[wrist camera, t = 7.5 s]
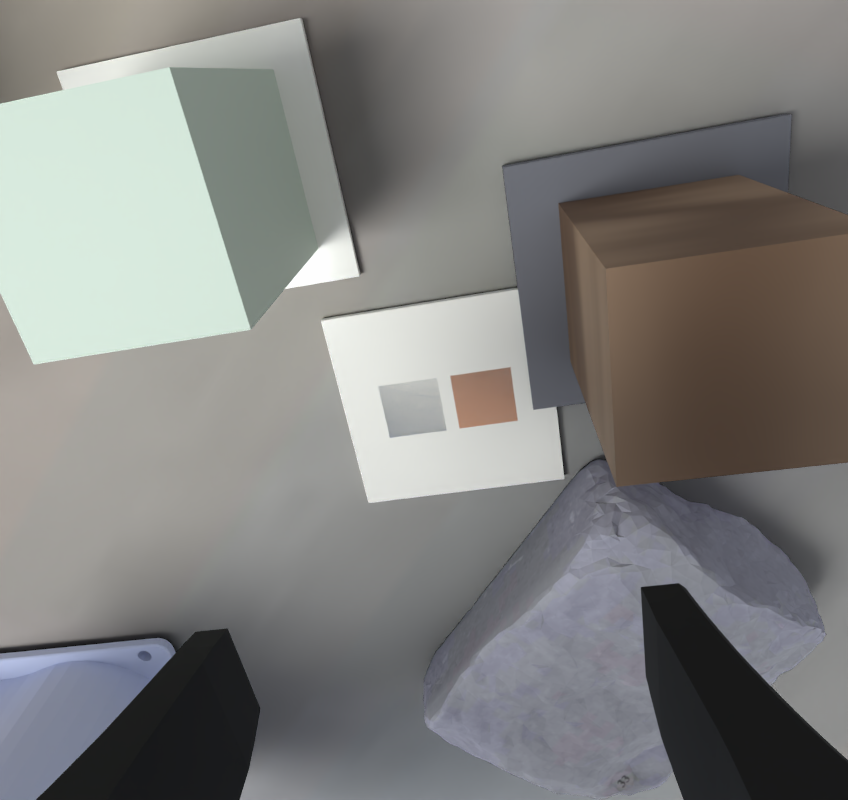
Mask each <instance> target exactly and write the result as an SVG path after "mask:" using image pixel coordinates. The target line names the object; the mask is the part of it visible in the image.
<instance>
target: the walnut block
mask: <svg viewBox="0 0 848 800" xmlns="http://www.w3.org/2000/svg"><path fill="white" fill-rule="evenodd" d="M558 206H559V219H560V232H561V245H562V258H563V271H564V284H565V297H566V309H567V322H568V335H569V348H570V361H571V364H572V367H573V370H574V373H575V375H576V378H577V381H578V383H579V386H580V389H581V392H582V394H583V397H584V400H585V402H586V405H587V408H588V411H589V413H590V416H591V419H592V422H593V424H594V427H595V430H596V432H597V435H598V438H599V441H600V443H601V446H602V449H603V451H604V454H605V457H606V460H607V462H608V465H609V468H610V470H611V473H612V476H613V479H614V481H615V484H616V487H621V486H630V485H639V484H649V483H658V482H668V481H677V480H687V479H696V478H705V477H715V476H724V475H734V474H743V473H753V472H762V471H771V470H781V469H790V468H800V467H809V466H819V465H828V464H837V463H847V462H848V215H847V214H844V213H841V212H838V211H836V210H833V209H830V208H828V207H825V206H822V205H819V204H817V203H814V202H811V201H809V200H806V199H803V198H800V197H798V196H795V195H792V194H790V193H787V192H784V191H781V190H779V189H776V188H773V187H771V186H768V185H765V184H763V183H760V182H757V181H754V180H752V179H749V178H746V177H744V176H741V175H734V176H728V177H722V178H715V179H709V180H703V181H696V182H690V183H683V184H677V185H671V186H664V187H658V188H652V189H645V190H639V191H633V192H626V193H620V194H614V195H607V196H601V197H595V198H588V199H582V200H576V201H569V202H563V203H558Z"/></svg>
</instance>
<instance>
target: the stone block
mask: <svg viewBox="0 0 848 800" xmlns="http://www.w3.org/2000/svg"><path fill="white" fill-rule="evenodd" d="M675 583H679V584H681V585H682V586H684V587H685V588H686V589H687V590H688V592H689V593H690V594H691V596H692V597H693V598H694V600H695V601H696V602H697V603H698V605H699V606H700V607H701V608H702V610H703V611H704V612H705V613H706V615H707V616H708V617H709V618H710V619H711V621H712V622H713V623H714V624H715V625H716V627H717V628H718V629H719V630H720V631H721V632H722V634H723V635H724V636H725V637H726V638H727V639H728V640H729V642H730V643H731V644H732V645H733V646H734V647H735V648H736V650H737V651H738V652H739V653H740V654H741V655H742V656H743V657H744V658H745V660H746V661H747V662H748V663H749V664H750V665H751V666H752V667H753V668H754V669H755V670H756V671H757V672H758V673H759V674H760V675H761V676H762V678H763V679H764V680H765V681H766V682H767V683H768V684H769V685H770V686H771V685H772V684H773V683H774V682H775V681H776V679H777V677H778V675H780V674H782V673H784V672H786V671H788V670H791V669H793V668H794V667H795V666H796V665H797V664H798V663H799V662H801V661H802V660H803V659H804V658H805V657H806V656H807V655H808V654H809V653H811V652H812V651H813V650H814V648H815V647H816V646H817V645H818V644H819V643H820V642H822V641H823V639H824V636H825V635H827V634H826V633H825V631H824V625H823V622H822V619H821V616H820V615H819V613H818V610H817V605H816V602H815V599H814V598H813V596H812V595H811V593H810V590H809V587H808V585H807V582H806V581H805V579H804V578H803V576H802V574H801V573H800V572H799V570H798V569H797V568H796V567H795V565H794V564H793V563H792V562H791V561H790V559H789V557H788V556H787V555H786V554H785V553H784V552H783V551H782V550H781V549H780V548H779V547H778V546H776V545H774V544H772V543H771V542H770V541H769V540H768V539H767V538H766V537H765V536H764V535H763V534H762V533H761V532H760V530H759V529H757V528H756V527H755V526H753V525H752V524H750V523H749V522H748V521H747V520H746V519H744V518H742V517H737V516H734V515H732V514H729V513H725V512H722V511H719V510H717V509H713V508H711V507H710V506H709V505H708V504H703V503H695V502H689V501H687V500H685V499H683V498H681V497H680V496H678V495H676V494H673V493H672V492H671V491H670V490H669V489H668V488H666V487H665V486H662V485H660V484H659V483H649V484H639V485H630V486H621V487H616V484H615V481H614V479H613V476H612V473H611V470H610V468H609V465H608V462H607V461H605V460H600V459H598V460H595V461H592V462H590V463H589V464H588V465H587V466H586V467H584V468H583V469H582V470H581V471H579V472H578V473H577V474H576V476H575V477H574V478H573V479H572V480H571V481H570V483H569V484H568V485H567V486H566V488H565V489H564V490H563V491H562V493H561V494H560V495H559V497H558V498H557V499H556V500H555V502H554V503H553V504H552V506H551V507H550V508H549V509H548V511H547V512H546V513H545V514H544V516H543V517H542V518H541V520H540V521H539V522H538V524H537V525H536V526H535V528H534V529H533V530H532V531H531V533H530V534H529V535H528V536H527V538H526V539H525V540H524V541H523V542H522V544H521V545H520V547H519V548H518V549H517V550H516V552H515V553H514V554H513V556H512V557H511V558H510V559H509V560H508V562H507V563H506V564H505V566H504V567H503V568H502V569H501V571H500V572H499V573H498V575H497V576H496V577H495V578H494V580H493V581H492V582H491V583H490V584H489V585H488V587H487V588H486V589H485V591H484V592H483V593H482V595H481V596H480V597H479V599H478V600H477V601H476V603H475V604H474V606H473V607H472V609H471V610H470V611H468V612H467V613H466V615H465V616H464V617H463V618H462V620H461V621H460V622H459V624H458V625H457V626H456V627H455V629H454V630H453V631H452V632H451V634H450V635H449V636H448V637H447V638H446V639H445V641H444V643H443V644H442V645H441V647H440V648H439V649H438V650H437V651H436V653H435V654H434V656H433V658H432V660H431V662H430V665H429V668H428V670H427V673H426V675H425V678H424V695H423V701H424V706H425V714H424V717H425V724H426V726H427V727H428V728H429V729H430V730H432V731H434V732H435V733H437V734H438V735H440V736H441V737H442V738H443V740H445V741H447V742H448V743H450V744H451V745H454V746H457V747H460V748H461V749H463V750H464V751H466V752H467V753H469V754H471V755H473V756H475V757H477V758H480V759H483V760H486V761H488V762H490V763H491V764H493V765H495V766H496V767H498V768H500V769H502V770H504V771H506V772H508V773H510V774H512V775H514V776H517V777H519V778H522V779H524V780H526V781H528V782H530V783H532V784H534V785H536V786H540V787H543V788H545V789H547V790H550V791H552V792H554V793H556V794H569V795H579V796H588V797H591V798H596V799H603V800H604V799H606V798H609V797H612V796H615V795H618V794H623V795H628V796H630V795H632V794H635V793H638V792H641V791H645V790H649V789H654V788H657V787H659V786H660V785H661V784H663V783H664V782H665V781H666V780H667V778H668V777H669V776H670V774H671V773H672V771H673V769H672V766H671V763H670V761H669V758H668V755H667V752H666V750H665V747H664V744H663V741H662V738H661V735H660V731H659V727H658V723H657V719H656V715H655V711H654V707H653V703H652V699H651V695H650V691H649V687H648V683H647V679H646V672H645V654H644V637H643V619H642V601H641V587H645V586H655V585H665V584H675Z"/></svg>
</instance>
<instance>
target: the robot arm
mask: <svg viewBox="0 0 848 800" xmlns="http://www.w3.org/2000/svg"><path fill="white" fill-rule="evenodd" d="M641 601H642V619H643V637H644V654H645V672H646V679H647V683H648V687H649V691H650V695H651V699H652V703H653V707H654V711H655V715H656V719H657V723H658V727H659V731H660V735H661V738H662V741H663V744H664V747H665V750H666V752H667V755H668V758H669V761H670V763H671V766H672V769H673V772H674V775H675V777H676V780H677V783H678V786H679V788H680V791H681V794H682V797H683V799H684V800H848V760H847V759H846V758H845V757H844V756H843V755H841V754H840V753H839V752H838V751H837V750H836V749H835V748H834V747H833V746H832V745H830V744H829V743H828V742H827V741H826V740H825V739H824V738H823V737H822V736H821V735H820V734H819V733H818V732H817V731H816V730H815V729H813V728H812V727H811V726H810V725H809V724H808V723H807V722H806V721H805V720H804V719H803V718H802V717H801V716H800V715H799V714H798V713H797V712H796V711H795V710H794V709H793V708H792V707H791V706H790V705H789V704H788V703H787V702H786V701H785V700H784V699H783V698H782V697H781V696H780V695H779V694H778V693H777V692H776V691H775V690H774V689H773V688H772V687H771V686H770V685H769V684H768V683H767V682H766V681H765V680H764V679H763V678H762V676H761V675H760V674H759V673H758V672H757V671H756V670H755V669H754V668H753V667H752V666H751V665H750V664H749V663H748V662H747V661H746V660H745V658H744V657H743V656H742V655H741V654H740V653H739V652H738V651H737V650H736V648H735V647H734V646H733V645H732V644H731V643H730V642H729V640H728V639H727V638H726V637H725V636H724V635H723V634H722V632H721V631H720V630H719V629H718V628H717V627H716V625H715V624H714V623H713V622H712V621H711V619H710V618H709V617H708V616H707V615H706V613H705V612H704V611H703V610H702V608H701V607H700V606H699V605H698V603H697V602H696V601H695V600H694V598H693V597H692V596H691V594H690V593H689V592H688V590H687V589H686V588H685V587H684V586H682V585H681V584H679V583H675V584H665V585H655V586H645V587H641ZM145 651H146V652H145ZM147 652H148V653H147ZM259 713H260V707H259V704H258V702H257V699H256V697H255V695H254V692H253V690H252V687H251V685H250V682H249V680H248V677H247V675H246V673H245V670H244V668H243V665H242V663H241V660H240V658H239V655H238V653H237V651H236V648H235V646H234V643H233V641H232V638H231V636H230V633H229V631H228V629H219V630H210V631H200V632H195V633H194V634H193V635H192V636H191V637H190V638H189V639H188V640H187V641H186V642H185V643H184V645H183V646H182V647H181V648H180V649H179V650H178V651H177V652H175V650H174V648H173V646H172V644H171V643H170V642H169V641H167V640H165V639H162V638H152V639H142V640H132V641H122V642H112V643H102V644H92V645H82V646H72V647H62V648H52V649H42V650H32V651H22V652H12V653H2V654H0V800H239V799H240V796H241V793H242V790H243V787H244V783H245V780H246V777H247V773H248V770H249V766H250V761H251V756H252V751H253V746H254V741H255V736H256V730H257V724H258V719H259Z"/></svg>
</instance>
